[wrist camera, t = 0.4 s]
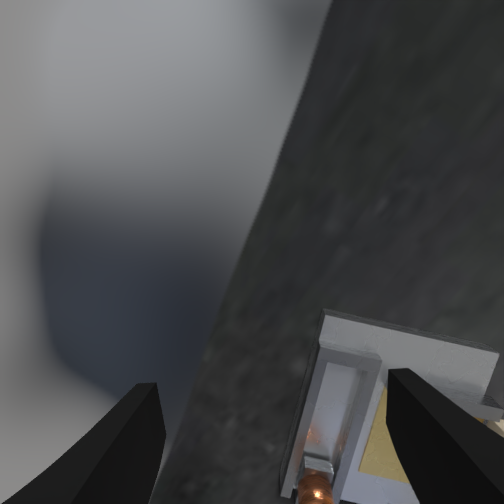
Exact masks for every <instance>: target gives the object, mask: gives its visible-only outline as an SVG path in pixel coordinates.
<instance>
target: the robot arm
mask: <svg viewBox="0 0 504 504" xmlns="http://www.w3.org/2000/svg"><path fill="white" fill-rule="evenodd" d="M386 425H387V428H388V431H389V434H390V437H391V440H392V443H393V446H394V449H395V451H396V454H397V457H398V459H399V461H400V463H401V466H402V468H403V470H404V472H405V474H406V476H407V478H408V480H409V482H410V485H411V487H412V489H413V491H414V493H415V495H416V497H417V499H418V501H419V503H420V504H504V438H503V437H502V436H500V435H499V434H497V433H496V432H494V431H493V430H491V429H490V428H488V427H487V426H486V425H484V424H483V423H481V422H480V421H478V420H477V419H476V418H474V417H473V416H471V415H470V414H469V413H467V412H466V411H464V410H463V409H462V408H460V407H459V406H458V405H456V404H455V403H454V402H452V401H451V400H450V399H448V398H447V397H446V396H445V395H443V394H442V393H441V392H439V391H438V390H437V389H435V388H434V387H433V386H432V385H430V384H429V383H428V382H426V381H425V380H424V379H423V378H421V377H420V376H419V375H417V374H416V373H415V372H413V371H412V370H411V369H409V368H398V369H388V384H387V406H386ZM165 439H166V430H165V425H164V420H163V415H162V410H161V405H160V400H159V394H158V389H157V383H138V384H136V385H135V386H134V387H133V388H132V389H131V390H130V391H129V392H128V393H127V394H126V395H125V396H124V397H123V398H122V399H121V400H120V401H119V402H118V403H117V404H116V405H115V406H114V407H113V408H112V409H111V410H110V411H109V412H108V413H107V414H106V415H105V416H104V417H103V418H102V419H101V420H100V421H99V422H98V423H97V424H96V425H95V426H94V427H93V428H92V429H91V430H90V431H89V432H88V433H87V434H85V435H84V436H83V437H82V438H81V439H80V440H79V441H78V442H76V443H75V444H74V445H73V446H72V447H71V448H70V449H69V450H68V451H67V452H65V453H64V454H63V455H62V456H61V457H60V458H59V459H58V460H56V461H55V462H54V463H53V464H52V465H51V466H49V467H48V468H47V469H46V470H45V471H43V472H42V473H41V474H40V475H38V476H37V477H36V478H35V479H33V480H32V481H31V482H30V483H28V484H27V485H26V486H24V487H23V488H22V489H21V490H19V491H18V492H17V493H15V494H14V495H13V496H11V497H10V498H9V499H7V500H6V501H5V502H3V503H2V504H148V502H149V499H150V496H151V493H152V490H153V487H154V484H155V481H156V478H157V475H158V471H159V468H160V463H161V459H162V454H163V449H164V444H165Z"/></svg>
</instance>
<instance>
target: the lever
mask: <svg viewBox="0 0 504 504" xmlns="http://www.w3.org/2000/svg"><path fill="white" fill-rule="evenodd" d="M333 475H334V472H333V467H332V463H331V462H329V461H325V460H320V459H316V458H312V457H307V456H304V458H303V462H302V465H301V469H300V472H299V476H298V480H297V483H296V487H295V491H294V493H295V504H334V499H333V494H332V489H331V482H332V479H333Z"/></svg>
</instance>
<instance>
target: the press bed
mask: <svg viewBox="0 0 504 504" xmlns="http://www.w3.org/2000/svg"><path fill="white" fill-rule="evenodd" d="M498 357H499V353H498V352H497V351H495V350H494V349H492V348H491V347H490V346H488V345H487V344H483V343H478V342H474V341H469V340H465V339H460V338H456V337H451V336H447V335H442V334H438V333H433V332H429V331H424V330H420V329H415V328H411V327H406V326H402V325H397V324H393V323H388V322H384V321H379V320H375V319H370V318H366V317H361V316H357V315H352V314H348V313H343V312H339V311H334V310H330V309H325V308H322V312H321V316H320V320H319V324H318V327H317V331H316V335H315V339H314V342H313V346H312V350H311V354H310V358H309V361H308V365H307V369H306V373H305V377H304V380H303V384H302V388H301V392H300V396H299V399H298V403H297V407H296V411H295V415H294V418H293V422H292V426H291V430H290V433H289V437H288V441H287V445H286V449H285V452H284V456H283V460H282V464H281V468H280V496H282V497H286V498H290V497H291V493H292V490H293V488H295V487H296V483H297V480H298V476H299V472H300V469H301V465H302V462H303V458H304V456H307V457H312V458H316V459H320V460H325V461H329V462H331V463H332V467H333V472H334V475H333V479H332V482H331V489H332V494H333V499H334V504H339V501H340V499H342V500H346V501H350V502H355V503H359V504H420V503H419V501H418V499H417V497H416V495H415V493H414V491H413V489H412V487H411V485H410V482H409V480H408V478H407V476H406V474H405V472H404V470H403V468H402V466H401V463H400V461H399V459H398V457H397V454H396V451H395V449H394V446H393V443H392V440H391V437H390V434H389V431H388V428H387V425H386V406H387V384H388V369H398V368H409V369H411V370H412V371H413V372H415V373H416V374H417V375H419V376H420V377H421V378H423V379H424V380H425V381H426V382H428V383H429V384H430V385H432V386H433V387H434V388H435V389H437V390H438V391H439V392H441V393H442V394H443V395H445V396H446V397H447V398H448V399H450V400H451V401H452V402H454V403H455V404H456V405H458V406H459V407H460V408H462V409H463V410H464V411H466V412H467V413H469V414H470V415H471V416H473V417H474V418H476V419H477V420H478V421H480V422H481V423H483V421H484V419H486V420H490V421H494V422H499V423H500V420H501V417H502V415H503V412H504V409H503V408H502V407H501V406H500V405H499V404H498V403H497V402H496V401H495V400H494V399H493V398H492V397H489V396H485V395H484V394H485V392H486V389H487V386H488V384H489V381H490V378H491V376H492V373H493V370H494V368H495V365H496V362H497V360H498Z"/></svg>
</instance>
